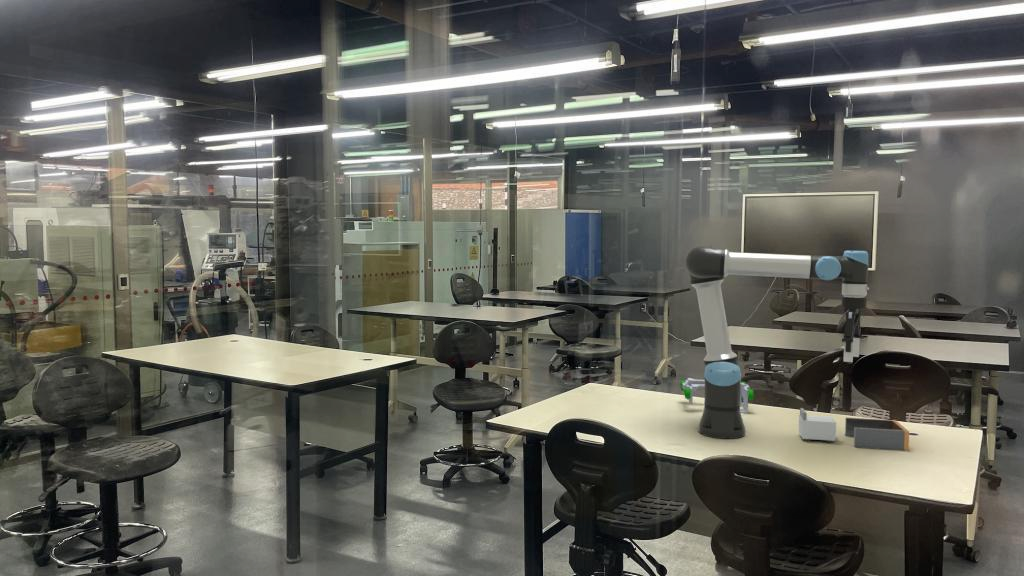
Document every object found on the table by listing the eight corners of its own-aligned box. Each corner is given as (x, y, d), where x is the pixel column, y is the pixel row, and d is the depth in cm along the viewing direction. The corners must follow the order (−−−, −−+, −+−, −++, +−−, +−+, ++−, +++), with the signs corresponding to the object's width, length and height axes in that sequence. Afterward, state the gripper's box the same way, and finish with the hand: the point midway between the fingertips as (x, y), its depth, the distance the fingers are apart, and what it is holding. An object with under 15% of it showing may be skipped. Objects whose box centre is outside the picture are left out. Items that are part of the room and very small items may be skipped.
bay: (854, 447, 215) (855, 428, 215) (845, 435, 229) (845, 417, 229) (908, 450, 211) (909, 431, 211) (895, 438, 225) (895, 420, 225)
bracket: (680, 401, 280) (680, 377, 280) (743, 403, 277) (743, 379, 276) (685, 412, 262) (685, 386, 261) (753, 414, 258) (753, 388, 258)
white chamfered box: (802, 441, 222) (802, 413, 221) (798, 434, 230) (799, 407, 229) (835, 443, 219) (836, 415, 219) (830, 436, 227) (831, 409, 227)
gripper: (861, 299, 216) (858, 365, 218) (871, 295, 237) (868, 355, 238) (835, 297, 221) (832, 362, 222) (847, 294, 241) (845, 353, 242)
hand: (851, 359), depth 230 cm, fingers open, 13 cm apart
